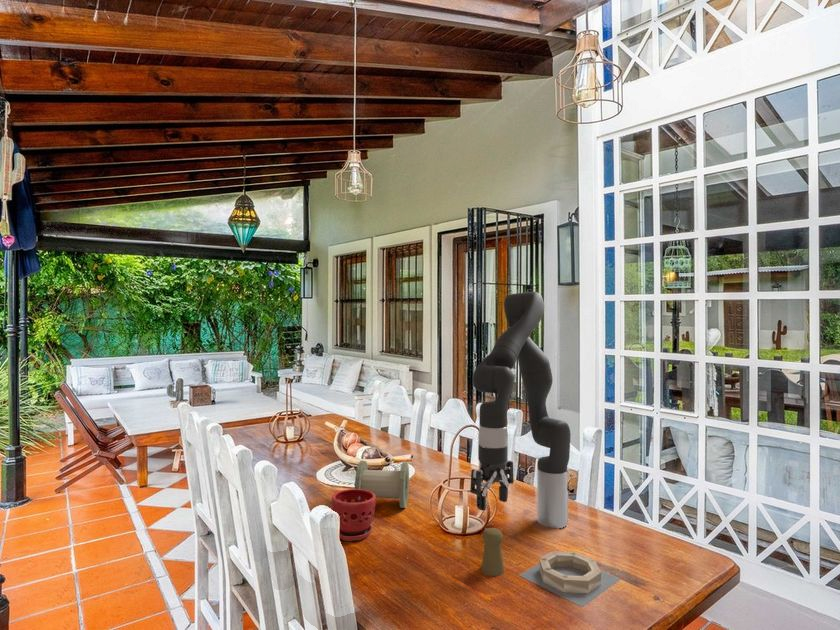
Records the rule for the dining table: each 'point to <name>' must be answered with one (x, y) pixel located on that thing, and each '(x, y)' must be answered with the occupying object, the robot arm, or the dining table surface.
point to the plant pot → (354, 513)
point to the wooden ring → (570, 582)
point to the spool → (384, 482)
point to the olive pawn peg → (492, 552)
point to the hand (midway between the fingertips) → (492, 505)
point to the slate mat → (576, 598)
